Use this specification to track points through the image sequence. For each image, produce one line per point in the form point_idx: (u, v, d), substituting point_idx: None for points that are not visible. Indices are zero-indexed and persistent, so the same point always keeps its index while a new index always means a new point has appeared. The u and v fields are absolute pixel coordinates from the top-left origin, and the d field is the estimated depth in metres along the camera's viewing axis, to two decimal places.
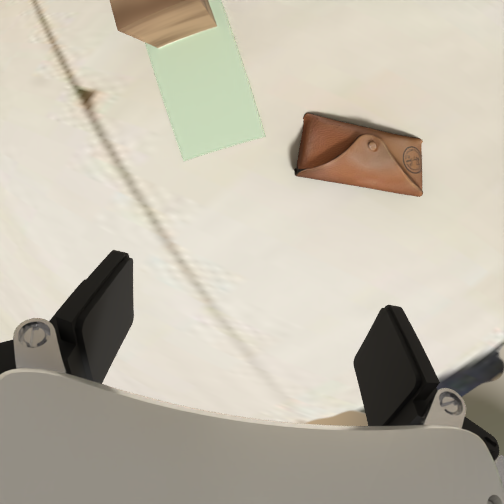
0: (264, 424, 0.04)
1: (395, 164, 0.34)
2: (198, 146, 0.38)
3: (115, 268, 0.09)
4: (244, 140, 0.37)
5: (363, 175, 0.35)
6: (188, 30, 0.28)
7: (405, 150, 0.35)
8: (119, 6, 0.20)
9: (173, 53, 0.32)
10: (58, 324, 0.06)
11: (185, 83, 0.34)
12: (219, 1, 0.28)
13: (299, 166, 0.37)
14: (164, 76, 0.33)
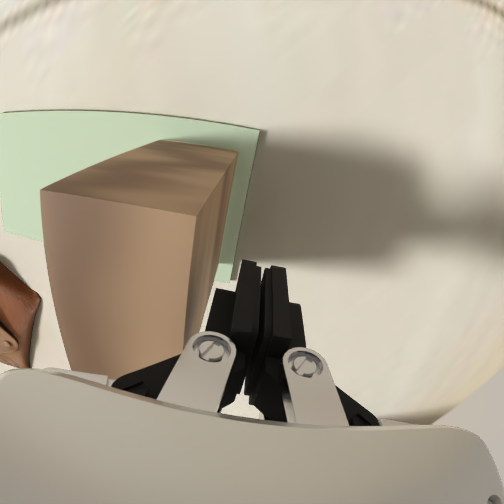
0: (264, 424, 0.04)
1: None
2: (6, 141, 0.18)
3: (255, 277, 0.10)
4: (2, 205, 0.20)
5: None
6: None
7: (12, 360, 0.28)
8: (111, 229, 0.08)
9: None
10: (232, 335, 0.08)
11: (81, 158, 0.19)
12: None
13: None
14: (106, 128, 0.18)
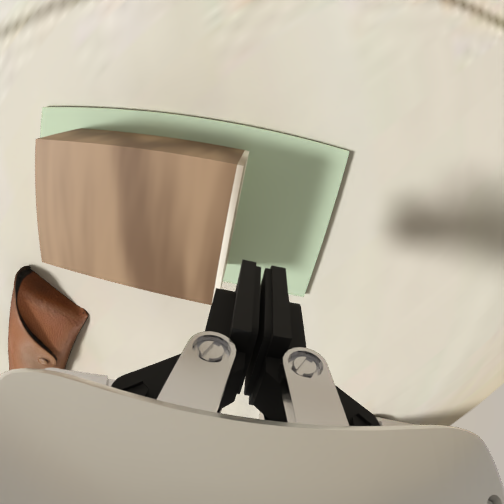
0: (264, 424, 0.04)
1: None
2: None
3: (255, 277, 0.10)
4: None
5: (13, 341, 0.24)
6: None
7: None
8: None
9: None
10: (232, 335, 0.08)
11: None
12: None
13: (24, 283, 0.22)
14: (184, 134, 0.18)
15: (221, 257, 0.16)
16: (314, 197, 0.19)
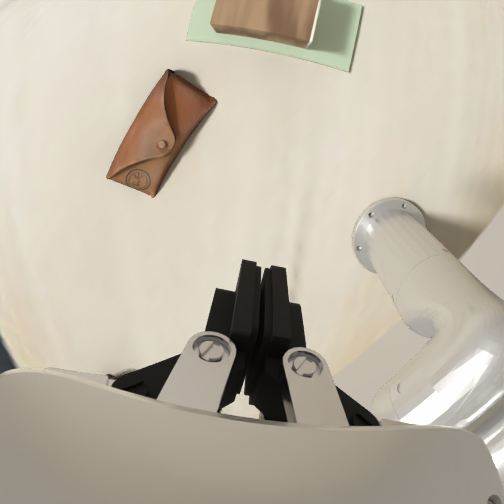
0: (264, 424, 0.04)
1: (138, 159, 0.38)
2: None
3: (255, 277, 0.10)
4: (191, 23, 0.32)
5: (140, 125, 0.36)
6: None
7: (148, 175, 0.40)
8: None
9: None
10: (232, 335, 0.08)
11: None
12: (331, 65, 0.34)
13: (173, 74, 0.34)
14: None
15: (315, 19, 0.27)
16: (348, 22, 0.31)
